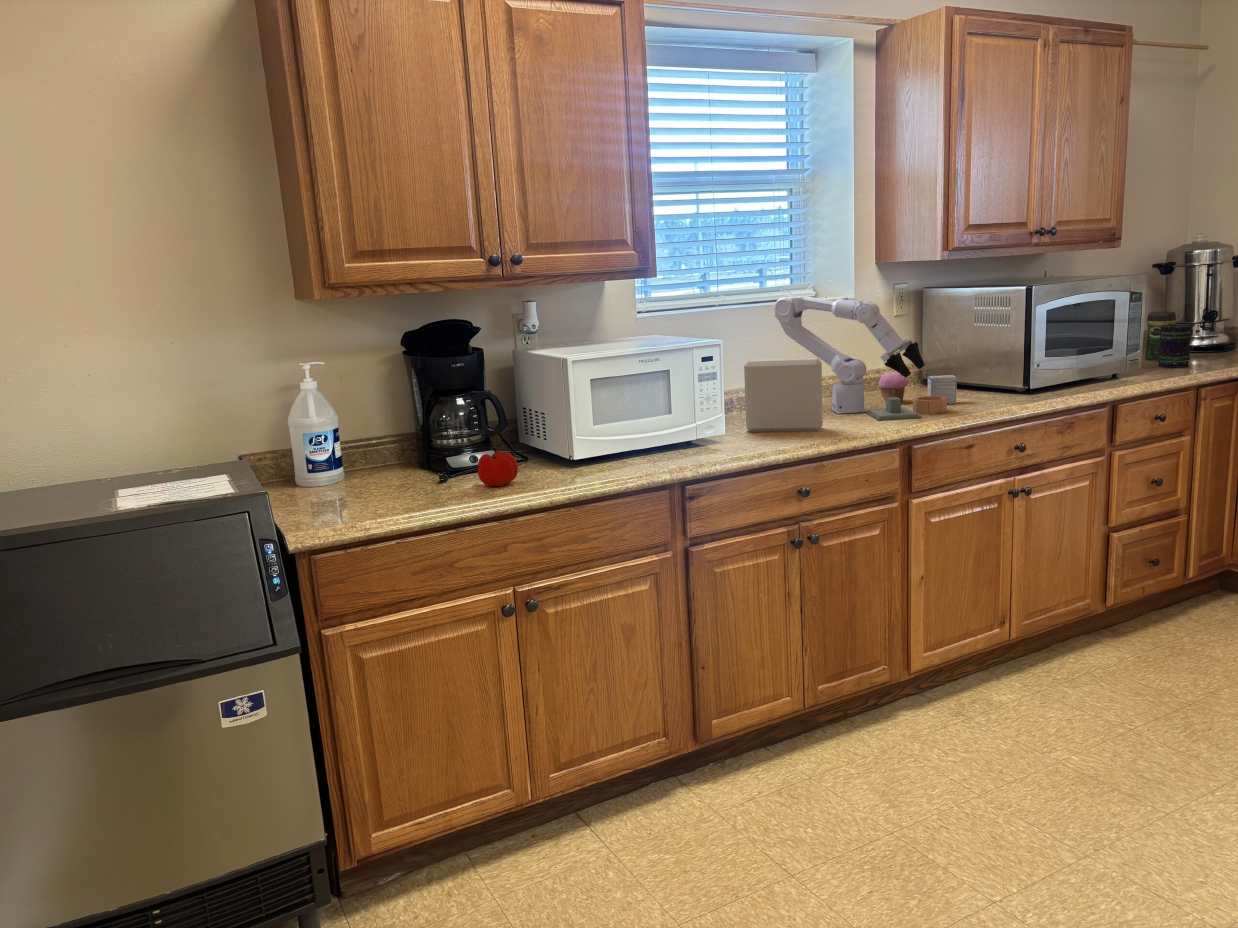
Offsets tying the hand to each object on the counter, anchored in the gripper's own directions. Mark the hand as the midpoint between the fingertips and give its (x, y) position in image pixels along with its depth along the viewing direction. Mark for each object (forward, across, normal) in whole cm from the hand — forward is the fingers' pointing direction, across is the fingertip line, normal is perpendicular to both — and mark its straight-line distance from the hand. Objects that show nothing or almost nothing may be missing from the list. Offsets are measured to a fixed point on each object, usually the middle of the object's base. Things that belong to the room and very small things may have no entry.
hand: (915, 371), depth 266 cm
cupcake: (+2, +11, +23) cm, 26 cm away
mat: (+7, -10, +9) cm, 15 cm away
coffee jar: (+45, +142, +16) cm, 150 cm away
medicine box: (+12, +16, +12) cm, 23 cm away
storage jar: (+49, +122, +3) cm, 131 cm away
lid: (+6, -10, +8) cm, 14 cm away
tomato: (-31, -128, +14) cm, 132 cm away
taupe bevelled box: (-7, -42, +16) cm, 45 cm away
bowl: (+12, +2, +6) cm, 13 cm away
